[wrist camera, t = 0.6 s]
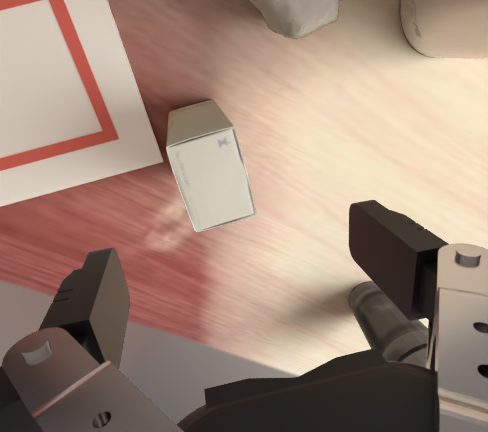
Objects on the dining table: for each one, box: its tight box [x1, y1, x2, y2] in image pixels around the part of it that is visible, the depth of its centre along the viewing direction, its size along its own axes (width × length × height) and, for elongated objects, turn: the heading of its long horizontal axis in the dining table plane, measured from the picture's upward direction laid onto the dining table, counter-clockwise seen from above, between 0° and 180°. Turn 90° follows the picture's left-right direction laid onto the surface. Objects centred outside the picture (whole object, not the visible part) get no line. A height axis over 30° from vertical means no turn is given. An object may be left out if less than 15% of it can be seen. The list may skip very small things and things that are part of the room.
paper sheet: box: [0, 0, 163, 206], centre depth 28 cm, size 18×18×1 cm
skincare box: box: [166, 100, 256, 232], centre depth 27 cm, size 6×4×12 cm
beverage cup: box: [349, 281, 428, 367], centre depth 35 cm, size 7×7×20 cm
